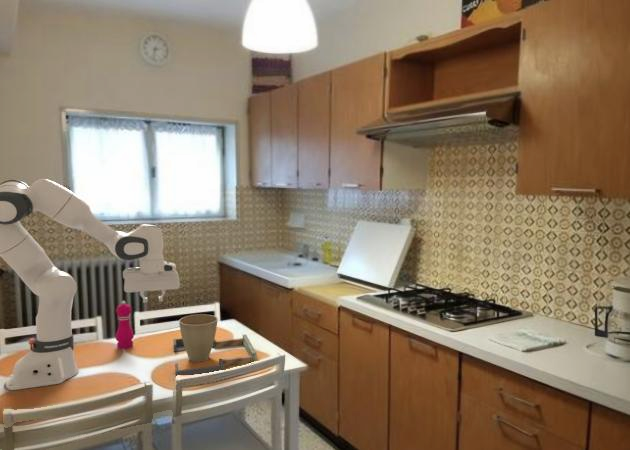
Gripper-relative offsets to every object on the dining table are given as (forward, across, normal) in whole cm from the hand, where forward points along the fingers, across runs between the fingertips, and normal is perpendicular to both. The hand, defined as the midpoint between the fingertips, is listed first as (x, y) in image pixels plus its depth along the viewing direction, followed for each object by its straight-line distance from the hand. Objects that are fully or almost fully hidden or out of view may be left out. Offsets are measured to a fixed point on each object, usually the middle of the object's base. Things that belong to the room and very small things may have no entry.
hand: (153, 302), depth 177 cm
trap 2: (+24, +16, -15) cm, 33 cm away
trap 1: (+24, +16, +14) cm, 32 cm away
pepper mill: (+24, -12, +24) cm, 36 cm away
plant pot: (+24, +17, -1) cm, 30 cm away
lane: (+24, +31, -1) cm, 39 cm away
